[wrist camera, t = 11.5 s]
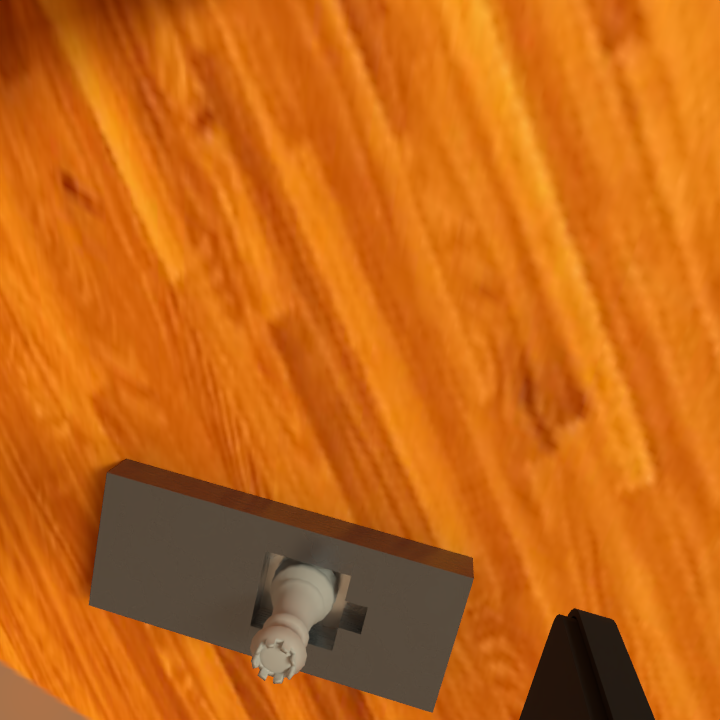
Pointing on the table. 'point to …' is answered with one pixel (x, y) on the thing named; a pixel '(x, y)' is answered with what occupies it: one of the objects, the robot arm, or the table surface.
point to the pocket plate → (257, 568)
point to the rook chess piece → (292, 618)
